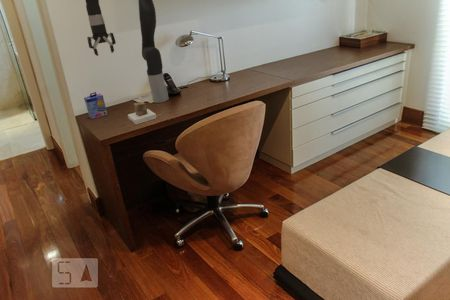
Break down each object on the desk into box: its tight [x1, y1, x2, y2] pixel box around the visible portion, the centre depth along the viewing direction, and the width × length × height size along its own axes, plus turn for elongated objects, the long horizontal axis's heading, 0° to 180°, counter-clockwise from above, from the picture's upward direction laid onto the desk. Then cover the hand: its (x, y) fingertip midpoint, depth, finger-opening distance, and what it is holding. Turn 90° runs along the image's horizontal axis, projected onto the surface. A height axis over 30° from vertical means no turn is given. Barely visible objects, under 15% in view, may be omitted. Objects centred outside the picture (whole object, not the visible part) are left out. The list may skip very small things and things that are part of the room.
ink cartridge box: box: [83, 91, 108, 120], centre depth 209 cm, size 10×6×14 cm, turn 127°
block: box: [133, 101, 148, 116], centre depth 197 cm, size 5×5×6 cm
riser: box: [127, 108, 157, 125], centre depth 199 cm, size 12×12×3 cm
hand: (104, 54), depth 201 cm, fingers open, 8 cm apart
